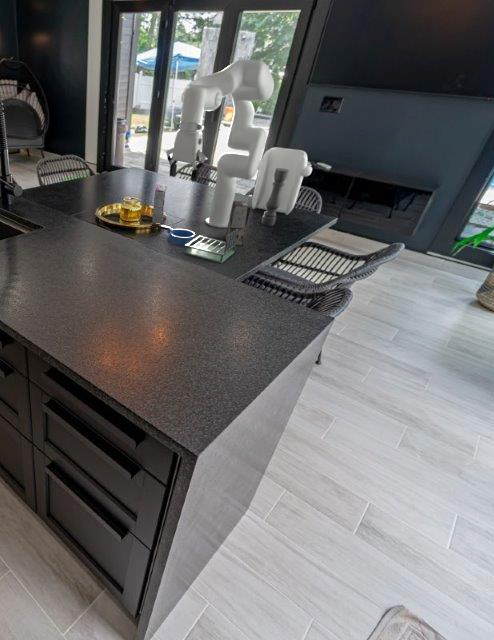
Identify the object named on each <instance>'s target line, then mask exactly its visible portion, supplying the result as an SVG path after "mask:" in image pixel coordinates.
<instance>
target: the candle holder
mask: <svg viewBox="0 0 494 640" xmlns="http://www.w3.org/2000/svg"><path fill="white" fill-rule="evenodd" d="M288 172H289V170H288V169H283V168H276V170H275V174H274V180H275V182H273V183H272V184H273V189H272V193H271V195H270V197H269V199H268V200H267V202H266V207H267V210H266V211H264V212H263V215H262V217H261V222H260V224H262V226H263V225H264V226H268V227H270V226H272V227H273V226H275V224H276V220H277V217H276V216H277V211H276V209H277V208H278V207H279V206H280V193H281V189H282V187H283V186H284V183H283V182H284V181H285V180H286V178H287V175H288Z"/></svg>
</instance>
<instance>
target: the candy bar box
mask: <svg viewBox="0 0 494 640" xmlns="http://www.w3.org/2000/svg"><path fill="white" fill-rule="evenodd" d="M155 186H156V187H155V189H154V196H153V197H154V198H153V209H152V219H151V224H152V223H154V222H155V223H160V225H163V222H162V221H164V213H165V205H166V196H167V187H168V185H167V184H156V185H155Z"/></svg>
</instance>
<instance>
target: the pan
mask: <svg viewBox="0 0 494 640" xmlns="http://www.w3.org/2000/svg"><path fill="white" fill-rule="evenodd" d="M150 227H153V228H156V229H159V230H160V229H161V230H164V231H166V233H167V234H168V242H170V243H171V244H172V245H176V246H182V247H183V246H184V247H185V245H186V244H188V243H189V242H191V241H192V240H194V239H195V238H196V234H195V233H196V232H194V231H192V230H190V229H185V228H174V229H173V228H172V227H171V226H167V225H164V224H162V225H160V224H156V223H152V222H151V225H150ZM194 243H195V242H193V243H192V244H190V245H189V246H192V245H194Z"/></svg>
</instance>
